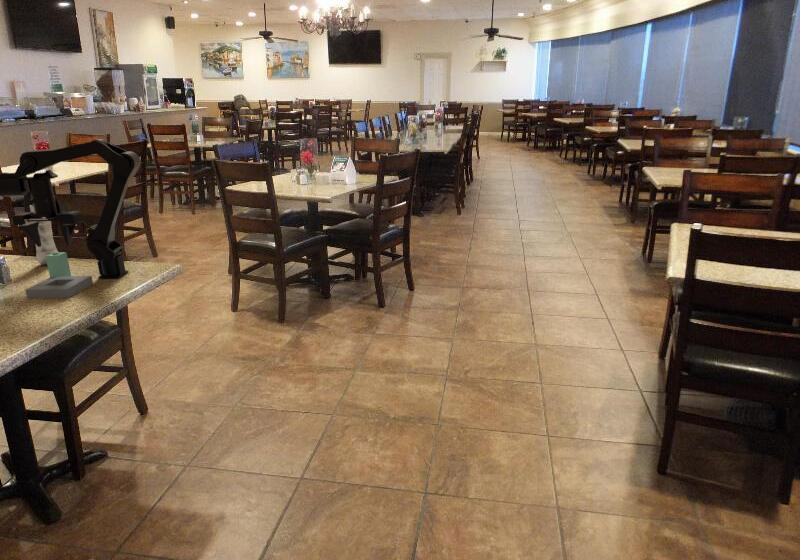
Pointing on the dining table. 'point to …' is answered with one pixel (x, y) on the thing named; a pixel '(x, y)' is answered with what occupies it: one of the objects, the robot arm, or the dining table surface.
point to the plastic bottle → (44, 240)
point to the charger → (58, 264)
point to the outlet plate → (59, 287)
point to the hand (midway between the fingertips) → (54, 246)
